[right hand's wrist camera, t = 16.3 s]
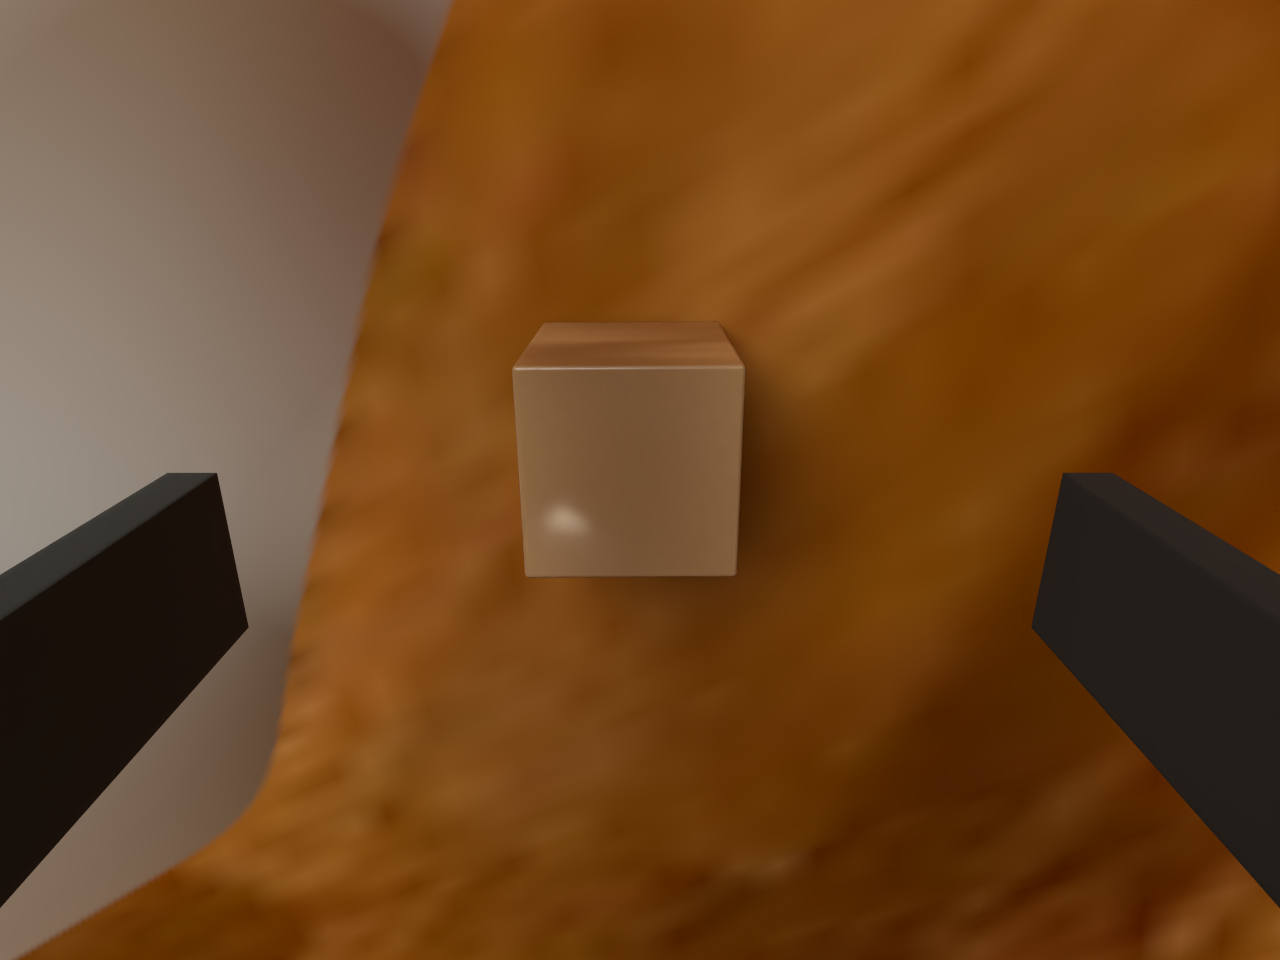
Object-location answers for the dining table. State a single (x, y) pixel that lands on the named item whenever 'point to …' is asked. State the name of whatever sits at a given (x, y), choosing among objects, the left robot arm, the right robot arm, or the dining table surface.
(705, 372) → the block
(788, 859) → the dining table surface
